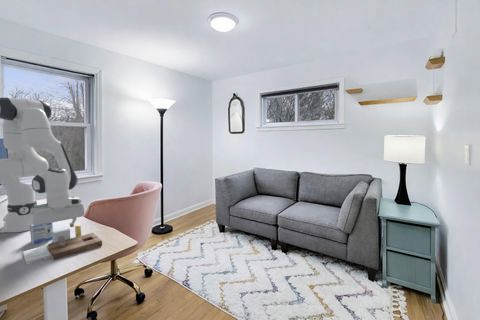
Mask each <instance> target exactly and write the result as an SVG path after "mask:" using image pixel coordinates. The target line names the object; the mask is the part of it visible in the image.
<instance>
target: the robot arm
mask: <svg viewBox="0 0 480 320" xmlns="http://www.w3.org/2000/svg"><path fill="white" fill-rule="evenodd" d="M51 116H52V107H51V106H50V105H49V103H48V102H47V101H44V100H36V99H32V98H31V99H30V98H25V97H24V98H19V97H18V98H17V97H15V98H14V97H7V96H5V97H0V119H2V120H3V122H2V136H3V137H2V138H3V146H4V148H5V149H7V150H9V151H11V152H14V153H17V154H18V155H19V156H18V157H11V158H0V184H1V186H2V187H3V188H4V189H5V191H6V192H5V193H6V196H7V197H6V198H7V203H8V204H7V206H6V209H7V214H5V215H4V216H3V222H4V223H3V226H2V228H1V229H0V233H1V234H2V233H19V232H20V233H22V232H26V231H30V225H31V224H33V225H34V226H39V225H42V226H43V227H44V228H45V230H46V233H48V232H50V228H47V227H46V226H47V224H48V223H52V224H53V223H57V222H62V221H66V220H71V222H70V223H69V227H70V228H73V227H74V228H75V223H76V221H77V218H82V217H84V216H85V215H86V214H85V213H86V212H85V207H84V205H83V203H82V199H81V198H80V197H79V196H73V195H71V193H70V190H73V189H74V188H75V187H76V186H77V184H78V181H79V180H78V176H77V174H76V172H75V170H74V169H73V166H72V163H71V162H70V160H69V156H68V154H67V152H66V149H65V147H64V145H63V143H62V142H61V141H60V140H58V139H57V138H56V137H55V135H54V134H53V132H52V126H51V124H50V120H49V119H50V118H51ZM36 150H39V151H43V152H46V153H49V154H51V155H52V156H54V158H55V160H56V163H57V166H58V167H50V165H49V162H48V160H47V159H46V158H45V157H43V156H41V155H40V154H38V153H37V151H36ZM31 177H33V178H32V180H31V184H27V183H24V182H21V180H20V179H24V178H31ZM36 193H38V194H46V203H43V204H38V203H37V200H36Z"/></svg>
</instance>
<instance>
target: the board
mask: <svg viewBox="0 0 480 320" xmlns="http://www.w3.org/2000/svg"><path fill="white" fill-rule="evenodd" d="M101 246H103V241H102V238H100V237H98V236H97V235H96V234H95V233H94V232H91V233H87V234H84V235H82V234H81V236H79V237H76V236H75V237H70V239H67V240H65V236H61V237H59V238H58V242H55V243H53V242H52V243H48V244H47V247H48V249H49V251H50V253H51V254H52V258H53V260H59V259H61V258H66V257H69V256H71V255H74V254H78V253H81V252H85V251H88V250H91V249H95V248H98V247H101Z"/></svg>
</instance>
